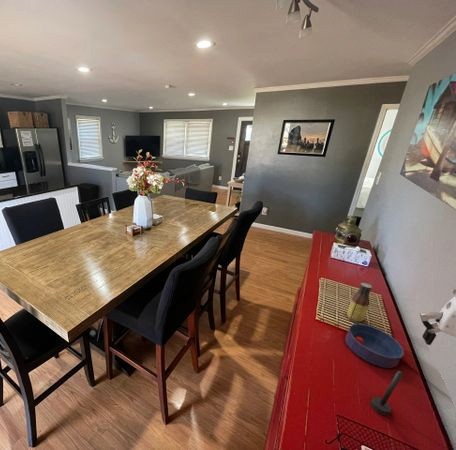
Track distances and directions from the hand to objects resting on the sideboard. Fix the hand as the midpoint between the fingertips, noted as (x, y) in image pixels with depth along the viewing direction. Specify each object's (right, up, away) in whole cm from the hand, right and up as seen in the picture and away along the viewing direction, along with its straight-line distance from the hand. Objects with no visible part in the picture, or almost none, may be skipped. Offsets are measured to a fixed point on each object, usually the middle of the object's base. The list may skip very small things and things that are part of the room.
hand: (450, 349), depth 67 cm
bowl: (+7, -17, +33) cm, 38 cm away
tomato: (+4, -14, +35) cm, 38 cm away
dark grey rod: (-9, -25, +12) cm, 29 cm away
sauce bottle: (+13, -11, +49) cm, 52 cm away
